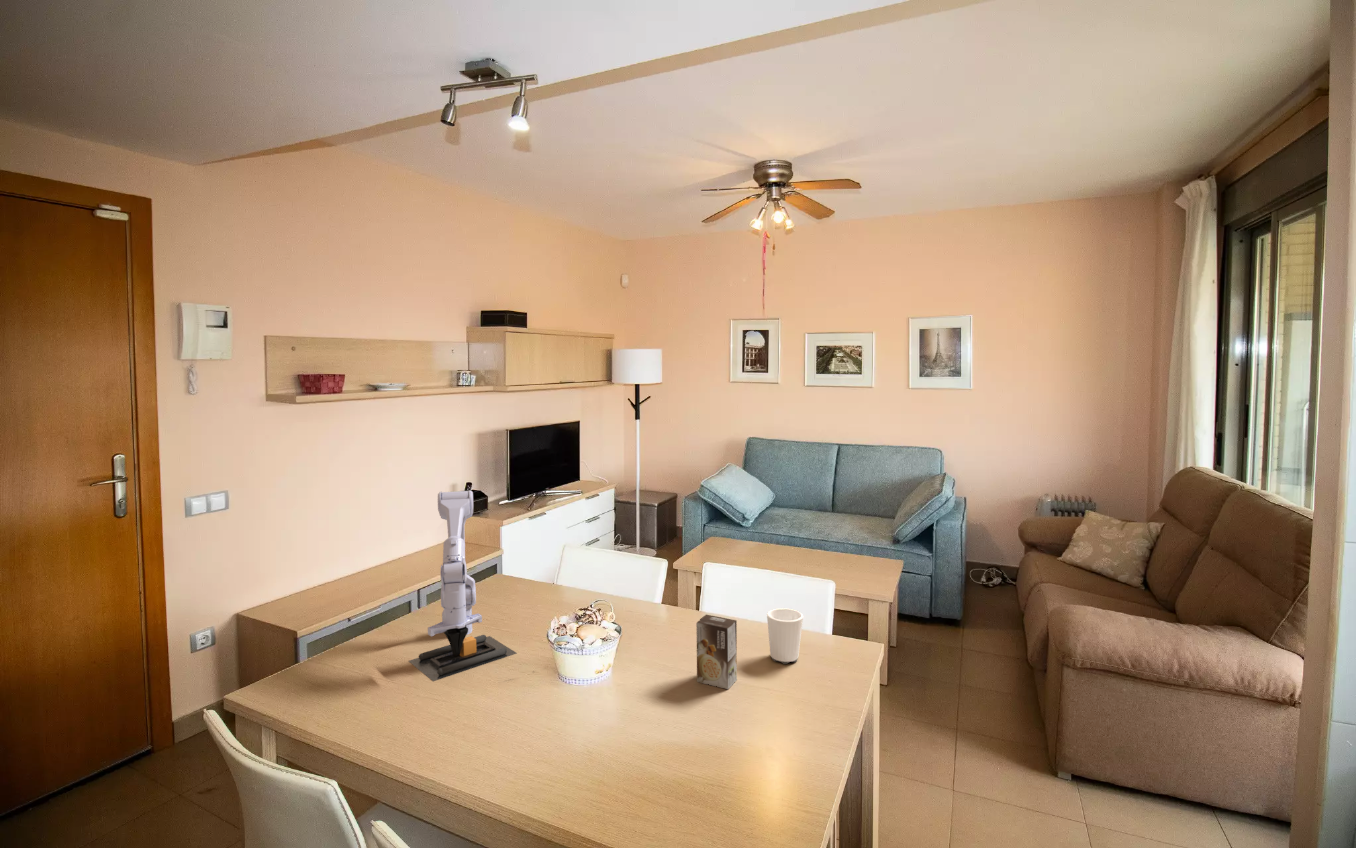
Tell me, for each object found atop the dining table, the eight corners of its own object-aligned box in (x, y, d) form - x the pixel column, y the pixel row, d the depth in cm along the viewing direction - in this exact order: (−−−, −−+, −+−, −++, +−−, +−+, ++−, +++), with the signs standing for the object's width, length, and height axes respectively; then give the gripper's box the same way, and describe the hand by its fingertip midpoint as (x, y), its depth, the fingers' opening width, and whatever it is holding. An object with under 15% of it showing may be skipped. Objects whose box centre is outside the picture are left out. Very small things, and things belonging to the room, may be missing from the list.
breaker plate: (408, 666, 183) (408, 657, 183) (489, 641, 200) (489, 632, 200) (433, 687, 172) (432, 677, 172) (517, 658, 188) (517, 649, 188)
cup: (801, 652, 192) (801, 608, 191) (803, 667, 182) (804, 622, 181) (765, 650, 193) (766, 607, 192) (766, 666, 183) (767, 620, 182)
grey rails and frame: (417, 659, 184) (417, 653, 184) (484, 639, 197) (484, 633, 197) (439, 677, 174) (438, 670, 174) (508, 654, 187) (508, 648, 187)
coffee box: (737, 679, 176) (738, 620, 174) (728, 690, 170) (728, 628, 169) (706, 672, 180) (706, 613, 178) (695, 682, 174) (695, 622, 173)
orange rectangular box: (459, 655, 186) (459, 639, 186) (471, 651, 189) (471, 636, 188) (464, 658, 184) (463, 642, 184) (476, 654, 187) (476, 639, 186)
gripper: (434, 616, 175) (436, 667, 176) (486, 602, 185) (487, 650, 186) (423, 609, 180) (425, 658, 182) (474, 596, 190) (476, 642, 191)
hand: (456, 653), depth 184 cm, fingers closed
